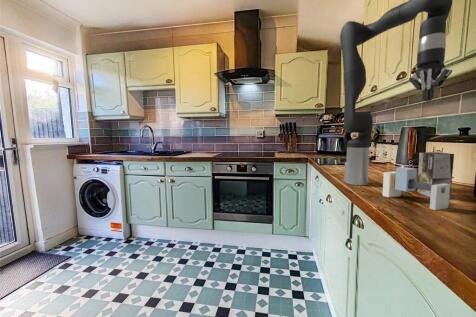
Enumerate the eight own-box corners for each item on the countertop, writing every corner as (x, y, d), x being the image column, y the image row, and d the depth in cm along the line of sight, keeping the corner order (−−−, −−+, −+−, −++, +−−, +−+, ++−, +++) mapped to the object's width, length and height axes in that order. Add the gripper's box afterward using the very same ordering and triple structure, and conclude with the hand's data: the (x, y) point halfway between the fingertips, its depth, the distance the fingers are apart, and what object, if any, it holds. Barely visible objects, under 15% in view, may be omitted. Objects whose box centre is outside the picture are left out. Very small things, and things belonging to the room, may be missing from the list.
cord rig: (382, 195, 85) (383, 172, 84) (394, 194, 87) (395, 171, 86) (435, 210, 68) (437, 181, 67) (448, 207, 70) (450, 179, 69)
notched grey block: (394, 189, 81) (396, 168, 80) (404, 187, 82) (405, 167, 81) (406, 191, 77) (407, 169, 76) (415, 190, 78) (417, 168, 78)
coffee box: (451, 198, 80) (455, 153, 78) (430, 198, 81) (434, 153, 79) (434, 192, 88) (437, 151, 87) (416, 191, 90) (418, 151, 88)
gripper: (404, 56, 84) (401, 103, 86) (446, 41, 71) (441, 97, 73) (418, 57, 86) (415, 103, 88) (461, 44, 73) (456, 98, 75)
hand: (427, 100), depth 80 cm, fingers closed
